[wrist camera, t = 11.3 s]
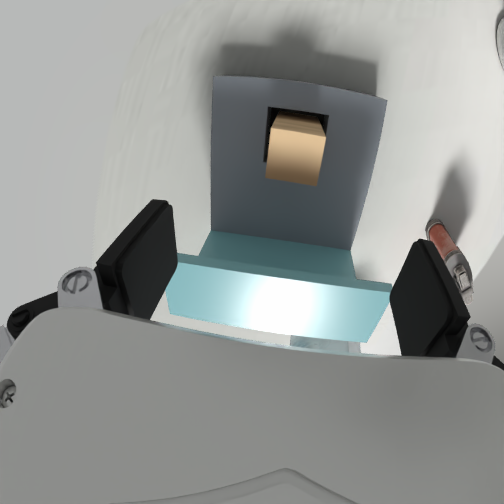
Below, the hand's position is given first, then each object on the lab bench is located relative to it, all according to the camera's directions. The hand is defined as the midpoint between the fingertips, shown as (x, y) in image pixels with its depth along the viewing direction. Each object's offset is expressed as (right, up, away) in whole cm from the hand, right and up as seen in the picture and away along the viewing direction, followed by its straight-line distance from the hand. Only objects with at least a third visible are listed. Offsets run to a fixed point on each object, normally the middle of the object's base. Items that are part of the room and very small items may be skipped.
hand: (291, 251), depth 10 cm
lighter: (+24, +1, +22) cm, 33 cm away
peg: (+3, +13, +18) cm, 22 cm away
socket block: (+3, +10, +20) cm, 22 cm away
